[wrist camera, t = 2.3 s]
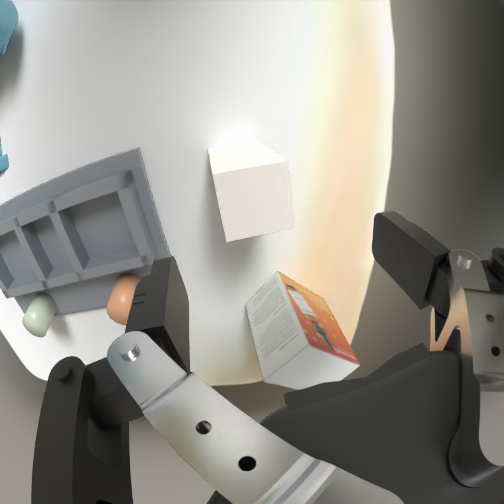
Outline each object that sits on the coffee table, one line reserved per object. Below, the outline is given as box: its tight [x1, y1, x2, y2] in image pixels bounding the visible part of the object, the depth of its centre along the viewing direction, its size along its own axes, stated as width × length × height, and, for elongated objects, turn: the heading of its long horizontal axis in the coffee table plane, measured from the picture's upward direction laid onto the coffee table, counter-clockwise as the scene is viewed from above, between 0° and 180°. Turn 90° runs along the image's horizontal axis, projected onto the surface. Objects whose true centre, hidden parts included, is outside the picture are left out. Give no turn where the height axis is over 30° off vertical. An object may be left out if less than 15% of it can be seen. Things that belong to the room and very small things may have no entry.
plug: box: [208, 139, 294, 242], centre depth 19 cm, size 4×4×9 cm
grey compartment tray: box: [0, 148, 171, 337], centre depth 21 cm, size 14×22×5 cm, turn 99°
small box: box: [246, 271, 359, 390], centre depth 27 cm, size 8×6×10 cm
